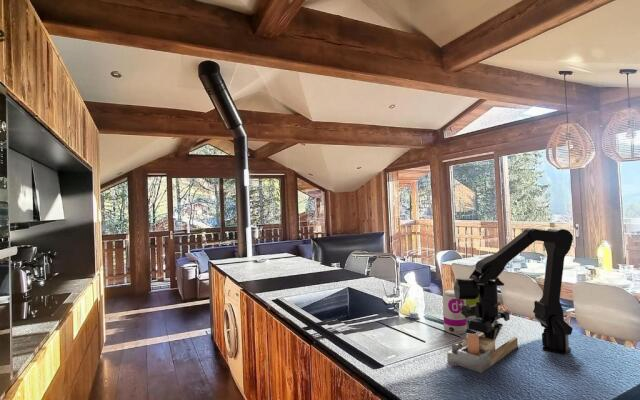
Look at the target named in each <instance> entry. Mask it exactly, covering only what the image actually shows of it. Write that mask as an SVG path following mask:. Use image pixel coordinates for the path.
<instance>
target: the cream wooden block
mask: <svg viewBox="0 0 640 400" xmlns="http://www.w3.org/2000/svg"><path fill="white" fill-rule="evenodd" d="M462 343H463V347H464V346H466V345H468V344H467V337H465V338H463V340H462ZM479 348H482V349H486V350H489V354H490V353H491V352H493V351H494V350H496V340H492V339H488V338H484V337H480V336H479Z"/></svg>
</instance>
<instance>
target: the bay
mask: <svg viewBox="0 0 640 400" xmlns="http://www.w3.org/2000/svg"><path fill="white" fill-rule="evenodd" d="M477 335H478V336H480V337H484V338H485V335H484V333H482V332H479V334H477ZM461 344H462V348H463V342H462V343H461ZM518 344H519V343H518V337H516V336H513V337H512V338H511V339H509V340H508V341H506V342H504V343H503V344H501V345H499V347H497V348H495V350H494V351H493V352H491V353H490V354H489V356H490V358H491V367H492V366H493V365H495V364H496V363H497V362H499V361H500V360H502V359H503V358H504V357H507V355H508V354H510V353H511V352H513V351H514V350H516V348H518V346H519V345H518ZM512 350H513V351H512Z"/></svg>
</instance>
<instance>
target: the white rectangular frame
mask: <svg viewBox="0 0 640 400" xmlns="http://www.w3.org/2000/svg"><path fill="white" fill-rule="evenodd" d="M446 356H447V360H446V361H447V363H450V364H453V365H457V366H458V367H459V366H460V367H461V368H465V369H469V370H471V371H475V372H478V373H481V374H482V373H484V372H485V371H486V370H487V369H490V368H491V367H492V366H491V358H490V356H489V350H486V349H482V348H479V355H474V354H471V353H468V345H466V346H464V347H463V348H462V343H460V342H452V343H451V349H450V350H448V351H447V352H446Z"/></svg>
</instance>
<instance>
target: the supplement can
mask: <svg viewBox="0 0 640 400" xmlns="http://www.w3.org/2000/svg"><path fill="white" fill-rule="evenodd" d="M462 306H466V300H457V299H456V297H455V293H454V289H446V290H444V292H443V294H442V313H443V315H442V316H443V317H442V318H443V330H444V331H445V332H447V333H448V334H453V335H462V334H465V333H466V332H467V331H468V330H467V329H468V325H467V321H466V318H465V316H464V315H463V314H461V309H462Z"/></svg>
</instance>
